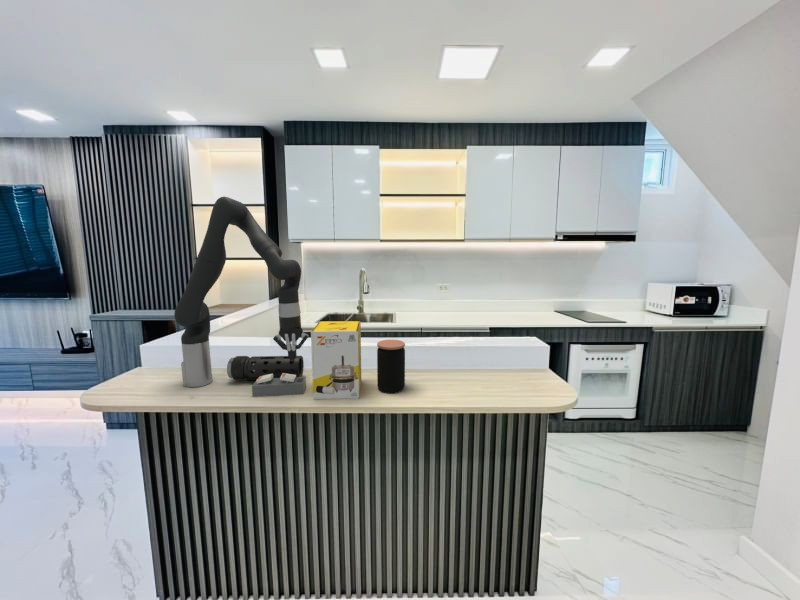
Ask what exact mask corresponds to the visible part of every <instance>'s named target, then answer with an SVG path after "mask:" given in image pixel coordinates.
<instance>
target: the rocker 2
mask: <svg viewBox="0 0 800 600" xmlns="http://www.w3.org/2000/svg"><path fill="white" fill-rule="evenodd" d="M295 378H296V375H293V374H287V373H283V374H282V375H281V377H280V380H284V381H290V382H294V380H295Z"/></svg>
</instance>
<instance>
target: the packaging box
mask: <svg viewBox="0 0 800 600" xmlns="http://www.w3.org/2000/svg"><path fill="white" fill-rule="evenodd" d="M361 330H362V329H361V321H360V320H359V321H358V320H357V321H356V320H354V321H353V320H351V321H350V320H349V321H348V320H347V321H342V320H341V321H319V322H318V323H317V324H316V325H315V326H314V327H313V329H312V330H311V331H310V342H311V343H310V344H311V348H310V349H311V369H312V370H311V371H312V393H313V394H312V395H313V396H312V397H313V398H312V399H313V401H314V400H315V401H316V400H317V399H319V400H348V399H349V400H351V399H353V400H356V398H357V399H360V394H361V388H360V387H362V343H361V342H362V340H361V339H362V337H361V336H362V335H361V334H362V331H361Z"/></svg>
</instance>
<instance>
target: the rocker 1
mask: <svg viewBox="0 0 800 600" xmlns="http://www.w3.org/2000/svg"><path fill="white" fill-rule="evenodd" d="M273 377H274V376H273V373H272V374H268V375H264V376H260V377H259V378H258V379H257V384H258V383H262V382H266V381H270V380H272V378H273Z"/></svg>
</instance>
